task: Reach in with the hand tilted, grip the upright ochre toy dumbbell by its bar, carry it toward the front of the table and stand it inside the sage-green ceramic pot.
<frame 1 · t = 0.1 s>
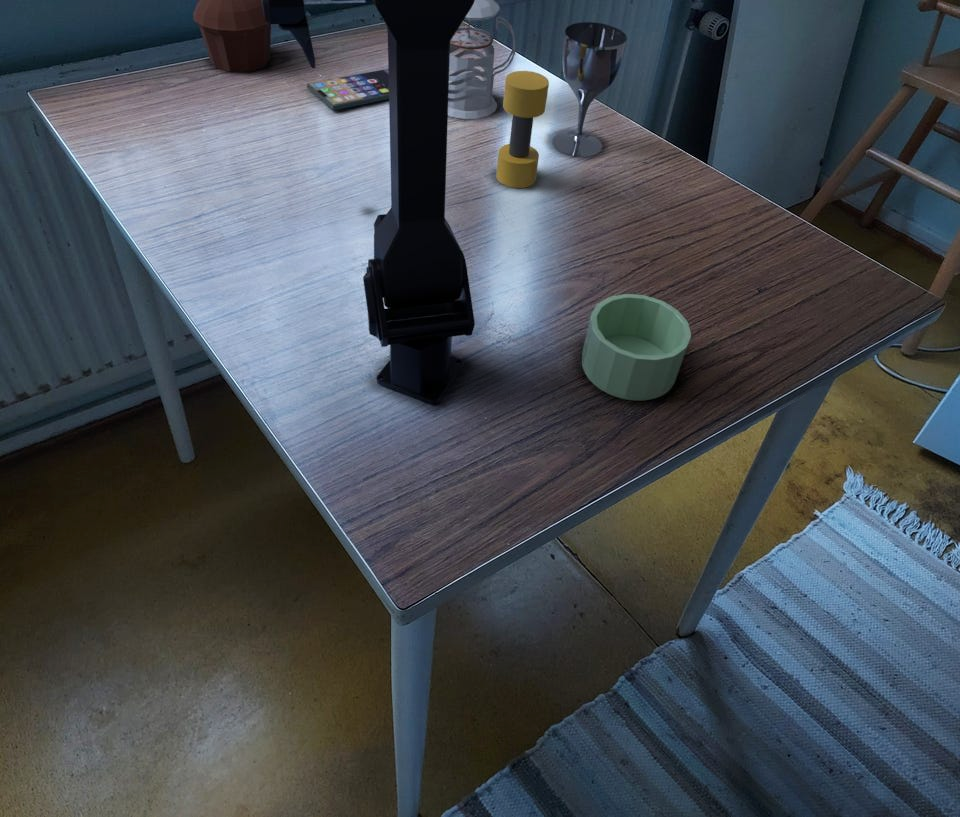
hand: (354, 63, 88), 15 cm above the table, tool pointing down, fingers open, 9 cm apart
french press: (470, 105, 117), on the table
smartphone: (365, 92, 117), on the table
wine glass: (576, 145, 111), on the table
dumbbell: (515, 177, 103), on the table
muffin: (240, 61, 122), on the table
pot: (628, 366, 79), on the table
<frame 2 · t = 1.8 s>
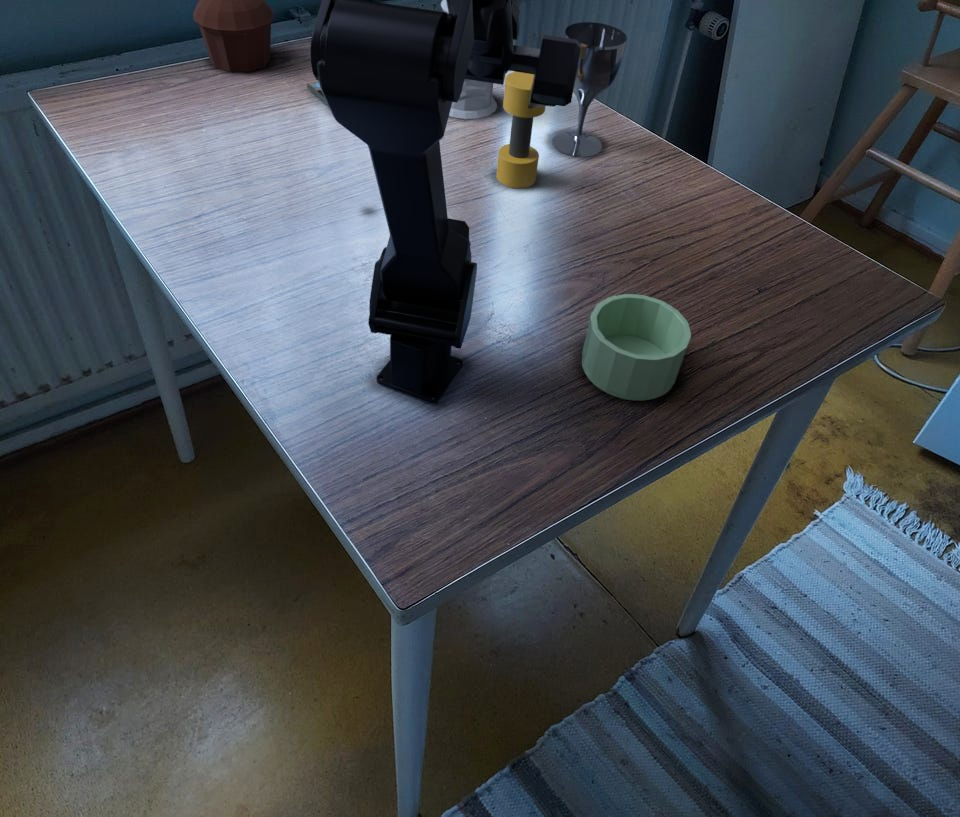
hand: (490, 97, 88), 14 cm above the table, tool tilted 40°, fingers open, 9 cm apart
nothing on the table moved.
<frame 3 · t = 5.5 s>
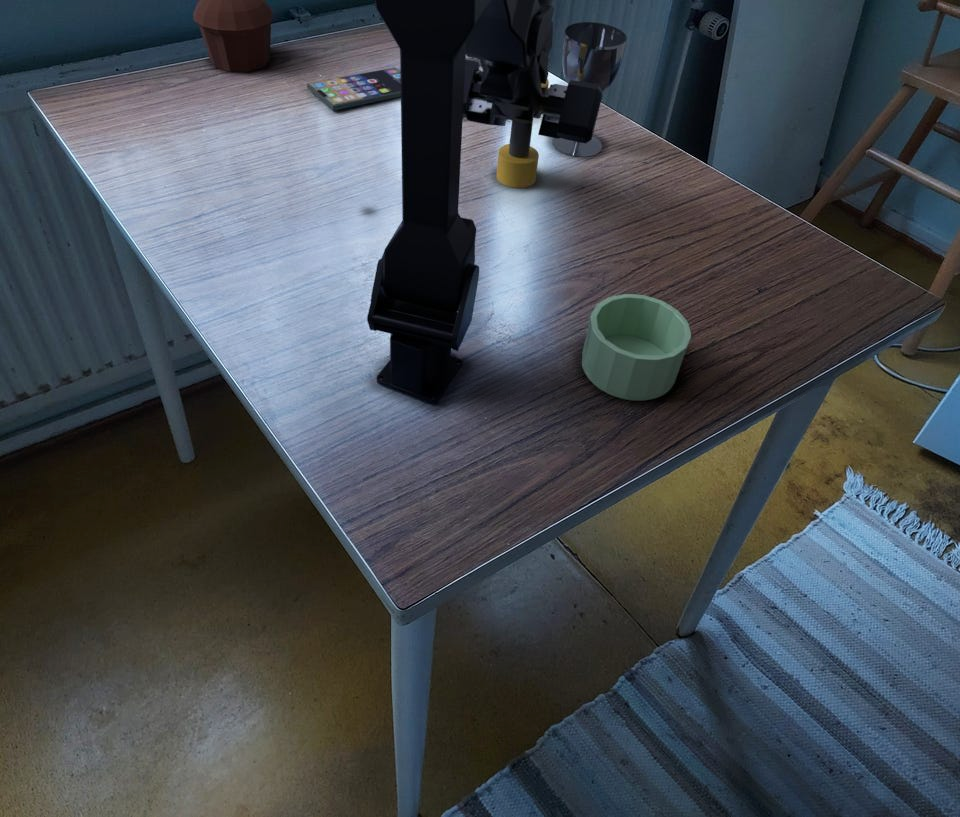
hand: (524, 125, 99), 7 cm above the table, tool tilted 45°, fingers closed on dumbbell, 5 cm apart
dumbbell: (515, 177, 103), on the table, touching gripper
everything else where it was.
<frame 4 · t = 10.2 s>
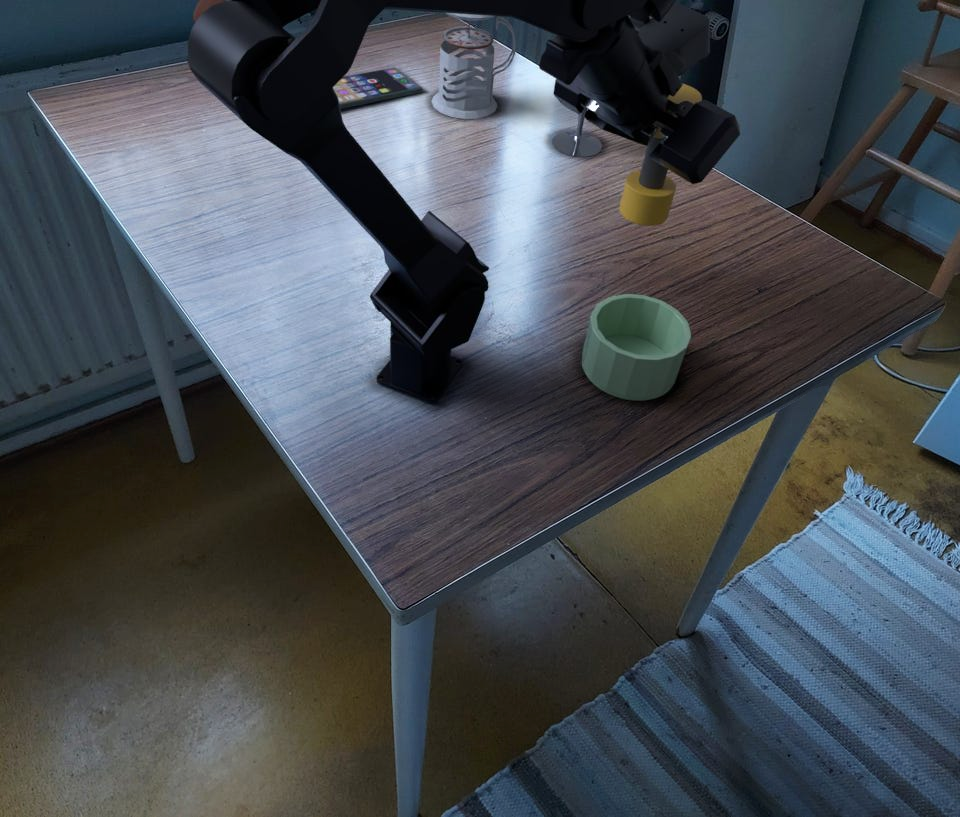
hand: (667, 152, 79), 15 cm above the table, tool tilted 45°, fingers closed on dumbbell, 5 cm apart
dumbbell: (643, 212, 83), point 9 cm above the table, touching gripper
everything else where it was.
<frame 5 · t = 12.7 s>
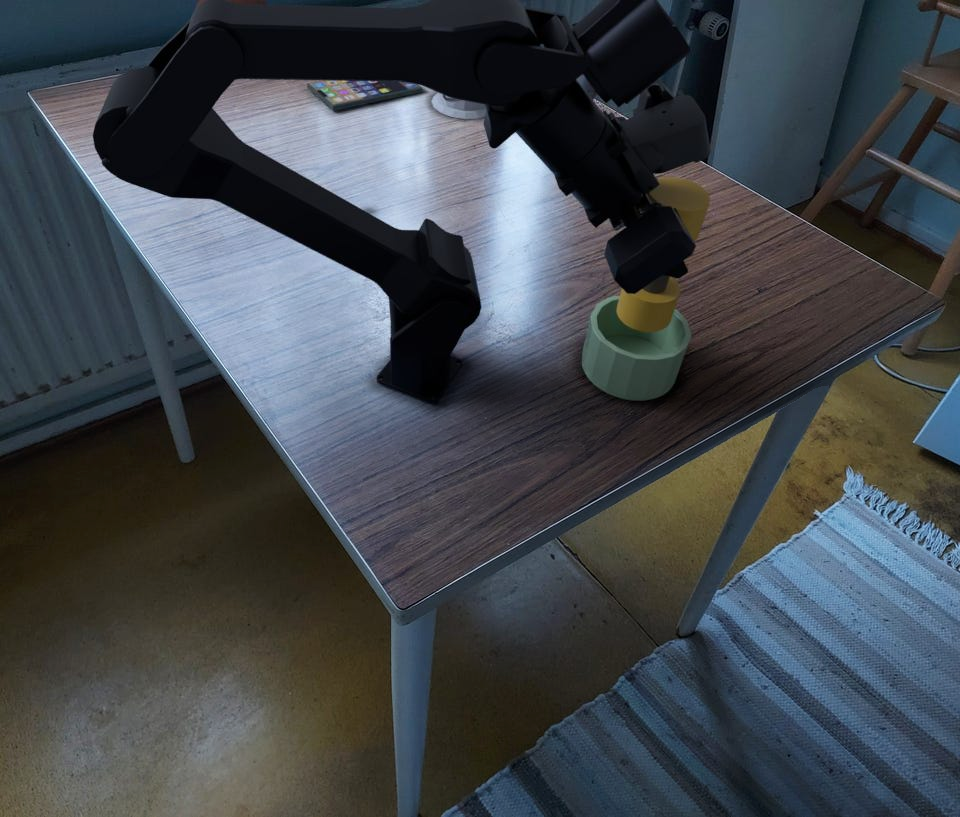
hand: (674, 257, 70), 13 cm above the table, tool tilted 45°, fingers closed on dumbbell, 5 cm apart
dumbbell: (643, 314, 74), point 7 cm above the table, touching gripper
everything else where it was.
when the fingers open (7 cm above the table, at t = 14.9 s): dumbbell stays where it is, resting on pot.
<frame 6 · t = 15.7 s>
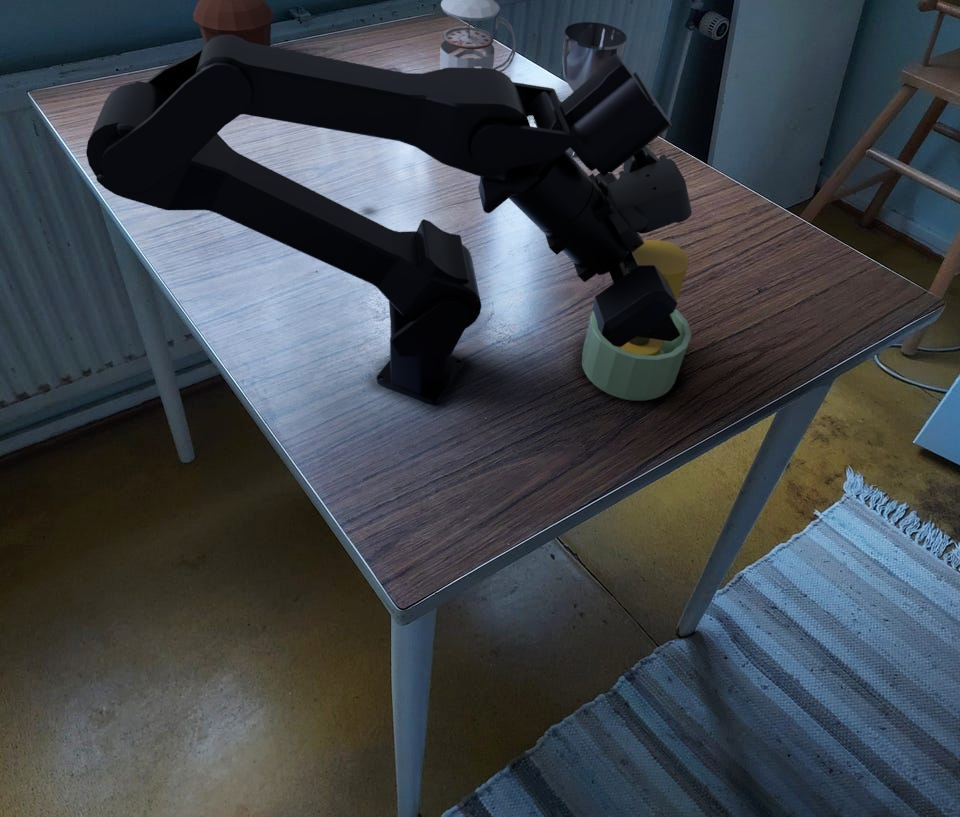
hand: (661, 304, 74), 8 cm above the table, tool tilted 45°, fingers open, 9 cm apart
dumbbell: (629, 363, 79), resting on pot
everything else where it was.
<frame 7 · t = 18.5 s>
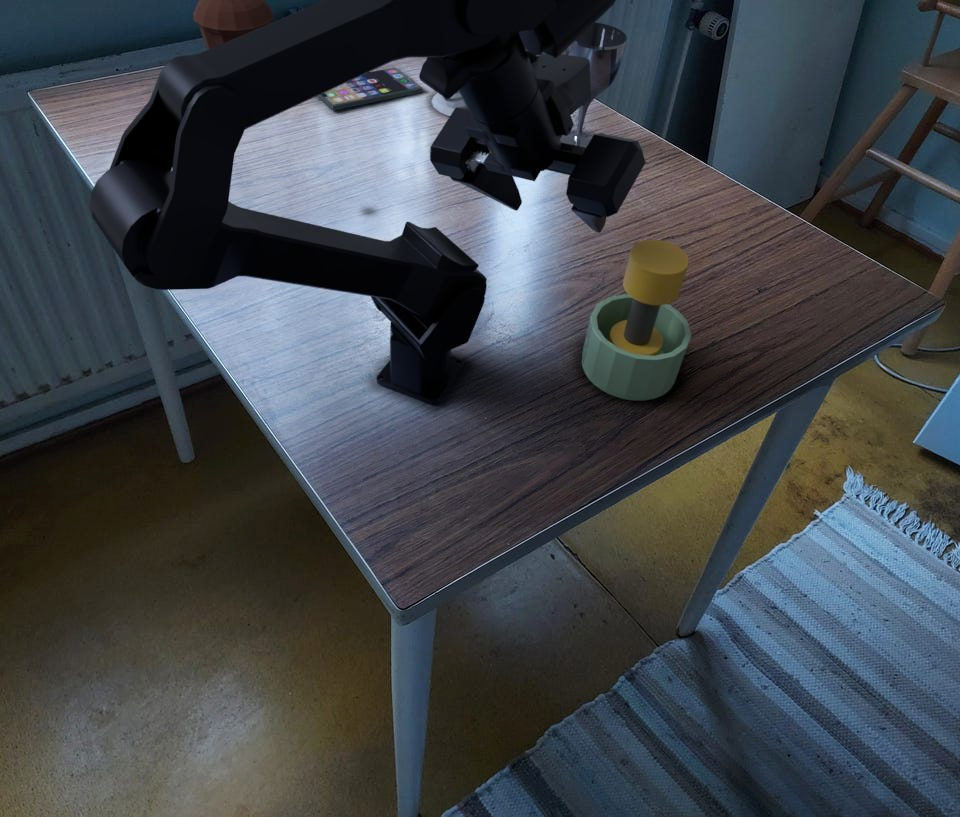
hand: (558, 217, 74), 13 cm above the table, tool tilted 30°, fingers open, 9 cm apart
nothing on the table moved.
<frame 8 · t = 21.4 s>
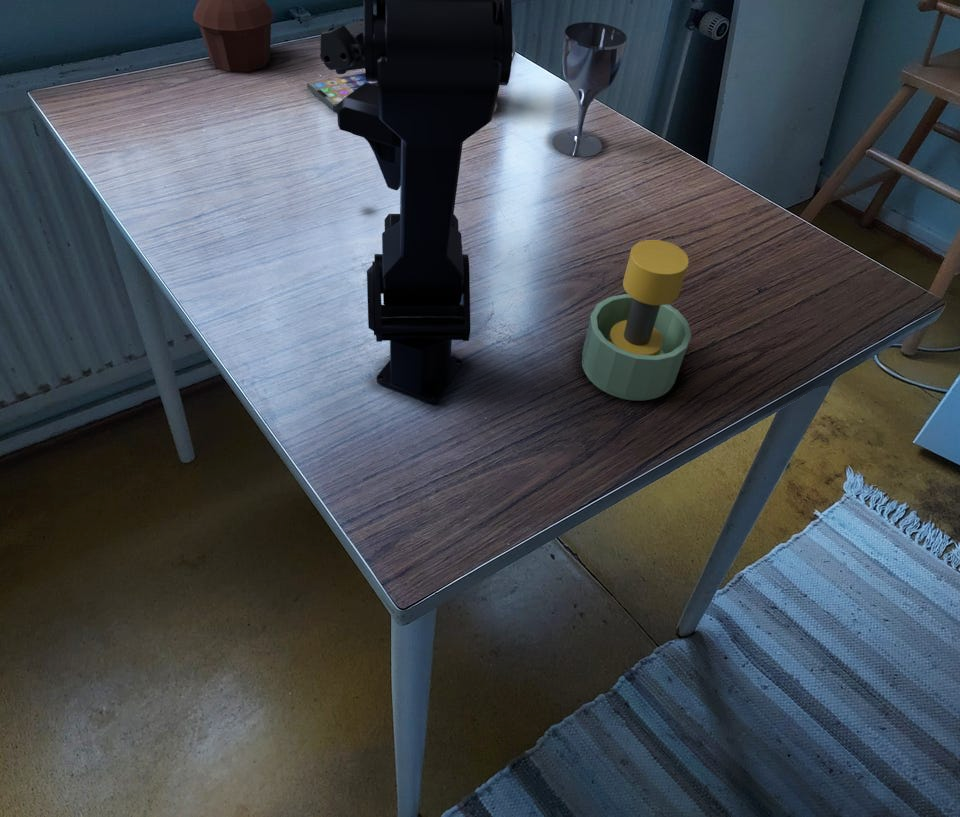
hand: (415, 167, 78), 13 cm above the table, tool pointing down, fingers open, 9 cm apart
nothing on the table moved.
at the end: dumbbell inside the target area in the pot (0.1 cm from its centre), point 0.5 cm above the pot's base; the gripper is holding nothing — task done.
